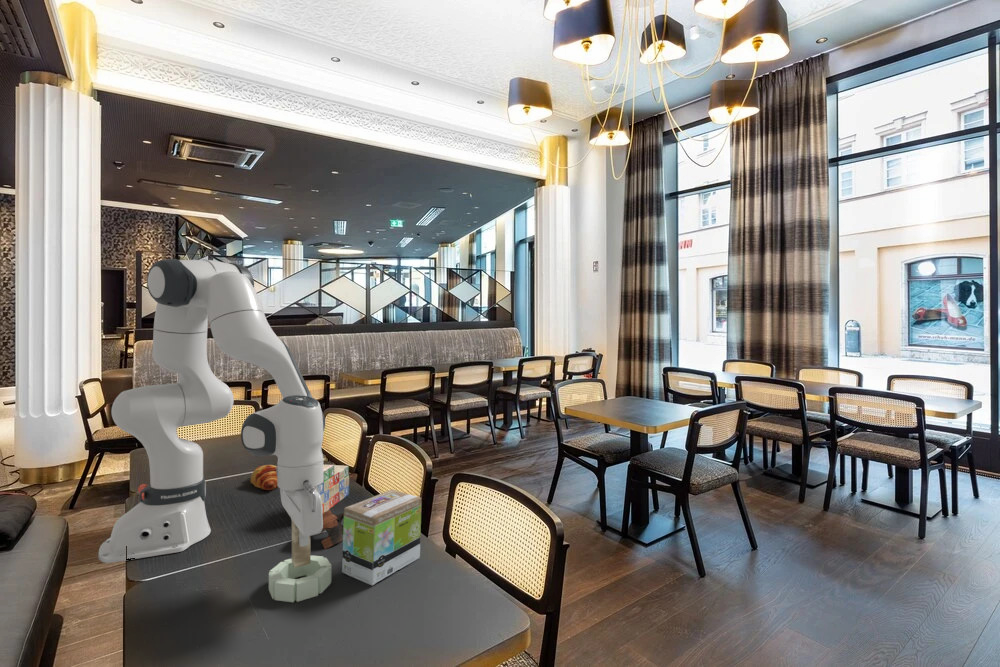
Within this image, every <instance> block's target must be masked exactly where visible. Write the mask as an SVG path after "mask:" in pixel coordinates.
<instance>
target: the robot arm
mask: <svg viewBox="0 0 1000 667" xmlns="http://www.w3.org/2000/svg"><path fill="white" fill-rule="evenodd" d="M146 277H147V278H146V285H147V286H146V287H147V291H148V294H149V295H150V297H151V298H152V299H153V300H154V301H155V302H157V304H156V308H155V312H154V321H153V334H152V335H153V336H152V337H153V338H152V354H151V355H152V360H153V361H154V362H155V364H156V365H158V366H159V367H160V368H163V369H165V370H168V371H170V372H172V373H176V374H177V376H178V382H175V383H165V384H164V383H163V384H153V385H152V384H151V385H144V386H139V387H135V388H131V389H126V390H123V391H122V392H120V393H119V394H118V395H117V397H115V398H114V401H113V403H112V406H111V417H112V420H113V422H114V424H115V425H116V426H117V428H119V429H120V430H122V431H123V432H125V433H127V434H129V435H131V436H133V437H134V438H136V439H137V440H138V442H140V443H141V444H142V446H143V447H144V449H145V451H146V454H147V457H148V463H149V480H150V482H149V484H147V483H142V484H140V485H139V486H138V488H137V489H138V490H137V491H138V493H139V501H140V502H138V503H137V504H136V505H135V506H133V507H132V508H131V509H130V510H128V511H127V512H126V513H124V514H123V515H121V516H120V517H119V518H118V519H117V521H116V522H115V524H114V525H113V527H112V530H111V534H110V537H109V538H107V539H106V540H105V541H103V543H102V544H100V547H99V549H98V553H97V554H98V555H97V557H98V559H99V561H100V562H102V563H104V564H111V563H112V564H113V563H117V562H118V563H119V562H123V561H127V560H126V546H127V559H128V558H129V559H130V558H135V559H134V560H136V559H144V558H150V557H156V556H161V555H169V554H174V553H179V552H183V551H185V550H186V549H188V548H190V546H192V545H194V544H196V543H198V542H200V541H202V540H204V539H205V538H207V537H208V536H209V535H210V534H211V532H212V529H211V527H210V523H209V520H208V517H207V512H206V505H205V500H206V496H207V494H206V493H207V486H206V485H207V484H206V483H207V482H206V479H205V477H204V451H203V449H202V447H201V446H200V444H198V443H196V442H195V441H191V440H188V439H184V438H181V437H178V432H177V429H178V428H181V427H189V426H197V425H203V424H207V423H211V422H215V421H218V420H221V419H223V418H226V417H227V416H228V415H229V414H230V413H231V411H232V409H233V406H234V403H235V402H234V400H235V398H234V395H233V394H234V393H233V392H232V389H231V388H230V387H229V386H228V385H227V383H225V382H223V381H222V380H220V379H219V378H218V377H217V376H216V375H215V374H214V373H213V371H212V368H211V367H210V363H209V362H208V361H209V360H208V329H209V328H210V331H211V334H212V337H213V340H214V343H215V344H216V346H217V347H218V349H219V350H220V351H221V352H222V353H224V354H225V355H226V356H228V357H230V358H232V359H234V360H237V361H240V362H241V361H242V362H245V363H248V364H251V365H255V366H257V367H259V368H262V369H264V370H265V371H267V372H268V374H270V375H271V377H272V378H273V380H274V382H275V384H276V386H277V389H278V390H279V392H280V394H281V396H282V398H281V399H280V401H279V402H278V403H276V404H274V405H273V406H271V407H268V408H266V409H262V410H258V411H255V412H253V413H249V415H247V417H246V418H245V419H244V421H243V423H242V426H241V430H240V441H241V444H242V446H243V448H244V449H245V451H247V452H248V453H249V454H250V455H252V456H255V457H269V456H275V457H276V458H277V463H276V464H277V465H276V466H277V467H276V475H277V484H278V487H277V488H279V494H280V500H281V501H280V502H281V504H282V507H283V508H284V510H285V511H286V513H287V514H288V516H289V517H290V520H291V522H292V520H293V522H294V523H295V524H296V526H297V527H298V529H299V536H298V543H299V545H300V547H303V546H307V545H308V544H309V536H310V537H312V536H315V535H320V534H319V533H321V531H322V528H323V516H322V501H321V496H320V494H319V493H318V492H317V491H316V490H317V485H319V484H321V483H322V482H323V464H324V453H323V451H322V445H323V442H324V431H325V428H326V419H325V414H324V413H323V410H322V408H321V407H322V406H321V404H320V402H319V400H317V399H315V398H314V397H313V395H312V394H311V392H310V390H309V387H308V386H307V382H306V381H305V379H304V377H303V375H302V373H301V370H300V368H299V366H298V364H297V362H296V359H295V357H294V356H293V353H292V352H291V350H290V348H289V347H288V346H287V344H286V343H285V342H284V341H283V340H282V339H280V338H279V337H278V335H276V333H275V332H274V330H273V328H272V327H271V325H270V323H269V322H268V320H267V317H266V313H265V311H264V309H263V306H262V302H261V300H260V298H259V295H258V293H257V291H256V289H255V281H254V277H253V275H252V273H251V271H250V269H249V268H247V266H246V267H245V266H243V265H241V264H238V263H234V262H223V261H219V260H212V259H177V258H166V259H165V258H164V259H160V260H156V261H155V262H154V263H153V264H152V265H151V267H150V268H149V270H148V272H147V276H146ZM208 325H209V328H208ZM321 534H322V533H321Z"/></svg>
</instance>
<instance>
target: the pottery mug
mask: <svg viewBox="0 0 1000 667" xmlns="http://www.w3.org/2000/svg"><path fill="white" fill-rule="evenodd" d="M322 516H323V528H322V531H321V533H319V534H318V535H321V534H322V533H323V532H324V531H326V532H327V534H328V536H327V537H325V538H324V539H322V540H321V545H322V547H323V549H324V550H326V549H329V548H330V547H332V546H334V545H337V544H340V543H341V542H343V525H344V524H342V521H343V520H344V511H342V512H341V513H339V514H333V513H332V511H331V510H330V509H329V510H328V511H326V512H324V513H322Z"/></svg>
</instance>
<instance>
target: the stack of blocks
mask: <svg viewBox="0 0 1000 667" xmlns="http://www.w3.org/2000/svg"><path fill="white" fill-rule="evenodd" d="M349 469H350V467H349V465H343V464H342V465H339V464H338V465H336V464H324V463H323V482H322V483H321V484H319V485H317V490H316V491H317V492H318V493H319V494H320V496H321V501H322V513H324V512H326V511H329V510H330V509H331V508H333V507H334V506H335V505H337V504H338V503H339V502H341V501H342V500H343V499H344V498H345V499H346V497H347V496H349V494H350V475H349Z"/></svg>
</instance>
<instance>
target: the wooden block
mask: <svg viewBox="0 0 1000 667" xmlns="http://www.w3.org/2000/svg"><path fill="white" fill-rule="evenodd" d="M298 536H299V529H298V527H297V526H296V524H295V523H294V522H293V520H292V521H291V558H292V563H293V565H294V567H295V568H296V567H300V566H304V565H307V564H310V555H311V536H309V544H308V545H307V546H303V547H300V545H299V543H298Z"/></svg>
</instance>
